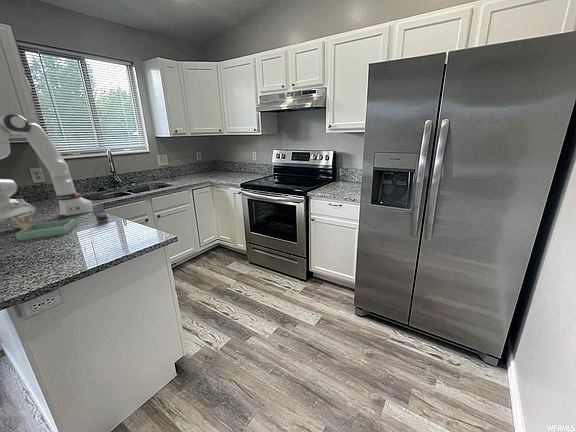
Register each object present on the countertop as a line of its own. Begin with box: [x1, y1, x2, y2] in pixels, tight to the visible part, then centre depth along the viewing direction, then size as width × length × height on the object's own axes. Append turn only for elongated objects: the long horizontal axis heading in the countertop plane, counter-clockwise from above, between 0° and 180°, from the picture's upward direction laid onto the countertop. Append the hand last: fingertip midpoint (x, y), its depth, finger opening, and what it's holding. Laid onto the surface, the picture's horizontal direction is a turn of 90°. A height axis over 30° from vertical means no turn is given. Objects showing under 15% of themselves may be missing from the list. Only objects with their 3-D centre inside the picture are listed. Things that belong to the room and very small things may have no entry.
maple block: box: [15, 214, 35, 230], centre depth 164 cm, size 5×5×8 cm
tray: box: [14, 218, 78, 242], centre depth 155 cm, size 22×18×4 cm
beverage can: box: [92, 202, 108, 223], centre depth 169 cm, size 6×7×12 cm
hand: (25, 221), depth 164 cm, fingers closed on maple block, 5 cm apart
